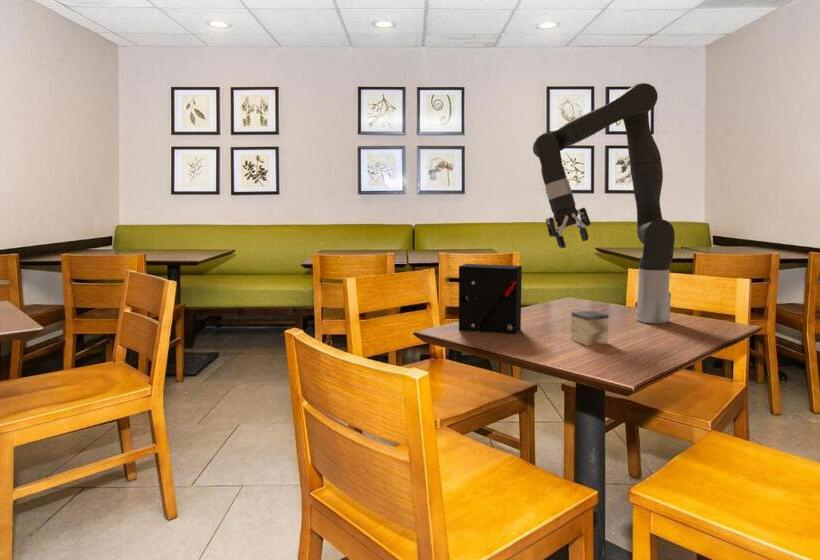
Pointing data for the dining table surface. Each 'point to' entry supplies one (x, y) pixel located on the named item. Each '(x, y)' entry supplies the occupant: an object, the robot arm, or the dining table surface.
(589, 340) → the birch block
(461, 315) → the electrical component
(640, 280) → the robot arm
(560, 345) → the dining table surface
